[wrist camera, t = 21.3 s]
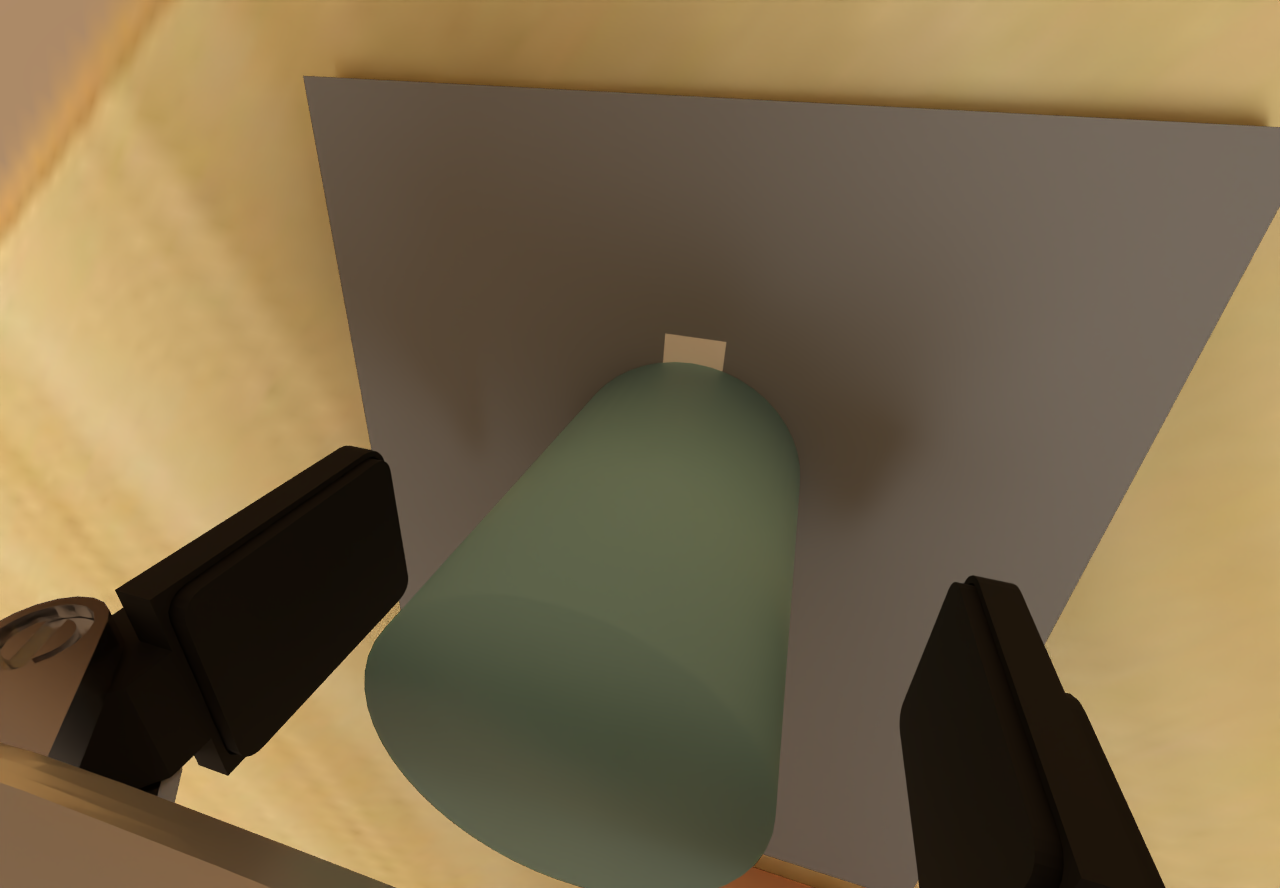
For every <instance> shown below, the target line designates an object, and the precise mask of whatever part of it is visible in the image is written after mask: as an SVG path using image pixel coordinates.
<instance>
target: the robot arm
mask: <svg viewBox="0 0 1280 888" xmlns="http://www.w3.org/2000/svg"><path fill="white" fill-rule="evenodd" d="M407 586H408V572H407V566H406V560H405V554H404V548H403V542H402V536H401V530H400V524H399V518H398V512H397V506H396V500H395V494H394V488H393V482H392V476H391V470H390V467H389V465H388V463H387V462H385V461H384V459H383V457H382V455H381V454H380V453H378V452H376V451H373V450H368V449H363V448H358V447H354V446H343V447H341V448H339V449H337V450H336V451H334V452H333V453H331V454H330V455H328V456H326V457H325V458H323V459H322V460H320V461H318V462H317V463H315V464H314V465H312V466H311V467H309V468H307V469H306V470H304V471H303V472H301V473H299V474H298V475H296V476H295V477H293V478H292V479H290V480H288V481H287V482H285V483H284V484H282V485H280V486H279V487H277V488H276V489H274V490H273V491H271V492H269V493H268V494H266V495H265V496H263V497H261V498H260V499H258V500H257V501H255V502H254V503H252V504H250V505H249V506H247V507H246V508H244V509H242V510H241V511H239V512H238V513H236V514H235V515H233V516H231V517H230V518H228V519H227V520H225V521H224V522H222V523H220V524H219V525H217V526H216V527H214V528H212V529H211V530H209V531H208V532H206V533H205V534H203V535H201V536H200V537H198V538H197V539H195V540H193V541H192V542H190V543H189V544H187V545H186V546H184V547H182V548H181V549H179V550H178V551H176V552H174V553H173V554H171V555H170V556H168V557H167V558H165V559H163V560H162V561H160V562H159V563H157V564H155V565H154V566H152V567H151V568H149V569H148V570H146V571H144V572H143V573H141V574H140V575H138V576H137V577H135V578H133V579H132V580H130V581H129V582H127V583H125V584H124V585H122V586H121V587H119V588H118V589H116V590H115V591H116V593H117V595H118V597H119V599H120V601H121V603H122V606H123V608H122V609H121V610H119V611H118V612H116V613H115V614H113V615H111V613H110V611H109V609H108V607H107V606H106V604H105V603H104V602H102V601H100V600H98V599H95V598H91V597H69V598H61V599H56V600H52V601H48V602H44V603H40V604H37V605H34V606H31V607H29V608H26V609H24V610H21V611H19V612H16V613H14V614H12V615H10V616H8V617H6V618H4V619H2V620H1V621H0V888H395V887H393V886H390V885H388V884H385V883H382V882H380V881H377V880H375V879H372V878H369V877H367V876H364V875H362V874H359V873H356V872H354V871H351V870H349V869H346V868H343V867H341V866H338V865H336V864H333V863H331V862H328V861H325V860H323V859H320V858H318V857H315V856H312V855H310V854H307V853H305V852H302V851H299V850H297V849H294V848H292V847H289V846H286V845H284V844H281V843H279V842H276V841H273V840H271V839H268V838H265V837H263V836H260V835H258V834H255V833H252V832H250V831H247V830H244V829H242V828H239V827H236V826H234V825H231V824H229V823H226V822H223V821H221V820H218V819H215V818H213V817H210V816H208V815H205V814H202V813H200V812H197V811H194V810H192V809H189V808H186V807H184V806H181V805H179V804H176V803H175V799H176V794H177V790H178V786H179V781H180V777H181V773H182V766H183V765H184V764H185V763H186V762H187V761H189V760H190V759H191V758H192V757H193V756H195V758H196V760H197V762H198V764H199V765H200V766H203V767H206V768H208V769H211V770H214V771H217V772H219V773H222V774H225V775H229V774H230V773H231V772H232V771H233V770H234V769H235V768H236V767H237V766H238V765H239V764H240V762H241V761H242V760H243V759H244V758H245V757H247V756H251V755H253V754H255V753H257V752H258V751H259V750H260V749H261V748H262V747H263V746H264V745H265V744H266V743H267V742H268V741H269V740H270V739H271V738H272V737H273V736H274V735H275V733H276V732H277V731H278V730H279V729H280V728H281V727H282V726H283V725H284V724H285V723H286V722H287V721H288V719H289V718H290V717H291V716H292V715H293V714H294V713H295V712H296V711H297V710H298V709H299V708H300V707H301V705H302V704H303V703H304V702H305V701H306V700H307V699H308V698H309V697H310V696H311V695H312V694H313V693H314V691H315V690H316V689H317V688H318V687H319V686H320V685H321V684H322V683H323V682H324V681H325V680H326V679H327V677H328V676H329V675H330V674H331V673H332V672H333V671H334V670H335V669H336V668H337V667H338V666H339V665H340V663H341V662H342V661H343V660H344V659H345V658H346V657H347V656H348V655H349V654H350V653H351V652H352V651H353V649H354V648H355V647H356V646H357V645H358V644H359V643H360V642H361V641H362V640H363V639H364V638H365V636H366V635H367V634H368V633H369V632H370V631H371V630H372V629H373V628H374V627H375V626H376V625H377V624H378V622H379V621H380V620H381V619H382V618H383V617H384V616H385V615H386V614H387V613H388V612H389V611H390V610H391V608H392V607H393V606H394V605H395V604H396V603H397V602H398V601H399V600H400V599H401V597H402V596H403V595H404V593H405V591H406V589H407ZM899 728H900V738H901V745H902V753H903V761H904V769H905V777H906V785H907V793H908V801H909V809H910V817H911V825H912V833H913V841H914V849H915V856H916V864H917V872H918V880H919V888H1165V886H1164V883H1163V881H1162V879H1161V877H1160V875H1159V872H1158V870H1157V868H1156V866H1155V864H1154V862H1153V859H1152V857H1151V855H1150V853H1149V851H1148V848H1147V846H1146V844H1145V842H1144V840H1143V837H1142V835H1141V833H1140V831H1139V829H1138V826H1137V824H1136V822H1135V820H1134V818H1133V815H1132V813H1131V811H1130V809H1129V807H1128V804H1127V802H1126V800H1125V798H1124V796H1123V793H1122V791H1121V789H1120V787H1119V785H1118V782H1117V780H1116V778H1115V776H1114V774H1113V772H1112V769H1111V767H1110V765H1109V763H1108V761H1107V758H1106V756H1105V754H1104V752H1103V750H1102V747H1101V745H1100V743H1099V741H1098V739H1097V736H1096V734H1095V732H1094V730H1093V728H1092V725H1091V723H1090V721H1089V719H1088V717H1087V714H1086V712H1085V710H1084V709H1083V707H1082V706H1081V704H1080V702H1079V701H1078V700H1077V699H1076V698H1075V697H1074V696H1072V695H1071V694H1068V693H1065V692H1064V689H1063V687H1062V685H1061V683H1060V680H1059V678H1058V676H1057V673H1056V671H1055V669H1054V666H1053V664H1052V662H1051V660H1050V657H1049V655H1048V653H1047V650H1046V648H1045V646H1044V643H1043V641H1042V639H1041V637H1040V634H1039V632H1038V630H1037V627H1036V625H1035V623H1034V620H1033V618H1032V616H1031V614H1030V611H1029V609H1028V607H1027V604H1026V602H1025V600H1024V597H1023V595H1022V593H1021V591H1020V589H1019V587H1018V586H1017V585H1015V584H1013V583H1008V582H1003V581H998V580H994V579H989V578H984V577H979V576H974V575H972V576H969V577H968V578H967V579H966V580H965V582H964V584H963V583H959V582H953V583H952V584H951V586H950V587H949V589H948V592H947V594H946V597H945V599H944V602H943V604H942V607H941V609H940V612H939V614H938V617H937V619H936V622H935V624H934V627H933V629H932V632H931V634H930V637H929V639H928V642H927V644H926V647H925V649H924V652H923V654H922V657H921V659H920V662H919V664H918V667H917V669H916V672H915V674H914V676H913V679H912V681H911V684H910V686H909V689H908V691H907V694H906V696H905V699H904V701H903V704H902V707H901V712H900V721H899Z"/></svg>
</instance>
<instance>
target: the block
mask: <svg viewBox="0 0 1280 888" xmlns="http://www.w3.org/2000/svg"><path fill="white" fill-rule="evenodd" d="M719 888H814V887H811V886H808V885H805V884H802V883H799V882H796V881H793V880H790V879H787V878H784V877H781V876H778V875H775V874H772V873H769V872H766V871H763V870H760V869H757V868H754V867H752V868H750V869H749V870H748V871H747V872H746V873H745V874H744V875H742V876H741V877H739V878H737V879H736V880H734V881H732V882H730V883H729V884H727V885H724V886H722V887H719Z"/></svg>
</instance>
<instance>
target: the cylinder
mask: <svg viewBox="0 0 1280 888" xmlns="http://www.w3.org/2000/svg"><path fill="white" fill-rule="evenodd" d="M799 489H800V465H799V459H798V453H797V450H796V447H795V444H794V441H793V438H792V436H791V434H790V432H789V430H788V428H787V426H786V424H785V423H784V421H783V420H782V418H781V417H780V415H779V414H778V412H777V411H776V410H775V409H774V408H773V407H772V406H771V405H770V403H769V402H768V401H767V400H766V399H765V398H764V397H762V396H761V395H760V394H759V393H758V392H757V391H755V390H754V389H753V388H751V387H750V386H748V385H747V384H745V383H744V382H742V381H741V380H739V379H737V378H735V377H733V376H731V375H729V374H727V373H725V372H722V371H719V370H716V369H714V368H711V367H707V366H703V365H698V364H693V363H683V362H664V363H655V364H650V365H645V366H641V367H638V368H635V369H632V370H630V371H628V372H625V373H623V374H621V375H619V376H617V377H616V378H614V379H613V380H612V381H610V382H609V383H607V384H606V385H605V386H604V387H603V388H601V389H600V390H599V391H598V392H597V393H596V394H595V395H594V396H593V397H592V399H591V400H590V401H589V402H588V403H587V404H586V405H585V406H584V407H583V409H582V410H581V411H580V412H579V413H578V414H577V415H576V416H575V417H574V419H573V420H572V421H571V422H570V423H569V424H568V425H567V426H566V427H565V429H564V430H563V431H562V432H561V433H560V434H559V435H558V436H557V437H556V439H555V440H554V441H553V442H552V443H551V444H550V445H549V446H548V447H547V449H546V450H545V451H544V452H543V453H542V454H541V455H540V456H539V457H538V459H537V460H536V461H535V462H534V463H533V464H532V465H531V466H530V467H529V469H528V470H527V471H526V472H525V473H524V474H523V475H522V476H521V477H520V479H519V480H518V481H517V482H516V483H515V484H514V485H513V486H512V487H511V489H510V490H509V491H508V492H507V493H506V494H505V495H504V496H503V497H502V499H501V500H500V501H499V502H498V503H497V504H496V505H495V506H494V507H493V508H492V510H491V511H490V512H489V513H488V514H487V515H486V516H485V517H484V518H483V520H482V521H481V522H480V523H479V524H478V525H477V526H476V527H475V528H474V530H473V531H472V532H471V533H470V534H469V535H468V536H467V537H466V538H465V540H464V541H463V542H462V543H461V544H460V545H459V546H458V547H457V548H456V550H455V551H454V552H453V553H452V554H451V555H450V556H449V557H448V558H447V560H446V561H445V562H444V563H443V564H442V565H441V566H440V567H439V568H438V570H437V571H436V572H435V573H434V574H433V575H432V576H431V577H430V578H429V580H428V581H427V582H426V583H425V584H424V585H423V586H422V587H421V588H420V590H419V591H418V592H417V593H416V594H415V595H414V596H413V597H412V598H411V600H410V601H409V602H408V603H407V604H406V605H405V606H404V607H403V608H402V610H401V611H400V612H399V613H398V614H397V615H396V616H395V617H394V618H393V620H392V621H391V622H390V623H389V624H388V625H387V626H386V627H385V629H384V630H383V631H382V633H381V634H380V635H379V636H378V638H377V639H376V640H375V642H374V644H373V647H372V649H371V651H370V653H369V655H368V659H367V664H366V669H365V695H366V701H367V707H368V710H369V713H370V716H371V719H372V722H373V725H374V727H375V729H376V731H377V734H378V736H379V738H380V740H381V742H382V744H383V745H384V747H385V749H386V750H387V752H388V753H389V755H390V757H391V758H392V760H393V761H394V763H395V764H396V765H397V767H398V768H399V769H400V771H401V772H402V773H403V775H404V776H405V777H406V778H407V779H408V780H409V782H410V783H411V784H412V785H413V786H414V787H415V788H416V789H417V791H418V792H419V793H420V794H421V795H422V796H423V797H425V798H426V799H427V800H428V801H429V802H430V803H431V804H432V805H433V806H434V807H435V808H436V809H437V810H438V811H440V812H441V813H442V814H443V815H444V816H446V817H447V818H448V819H449V820H450V821H452V822H453V823H454V824H456V825H457V826H458V827H460V828H461V829H462V830H464V831H465V832H467V833H468V834H469V835H471V836H472V837H474V838H475V839H477V840H478V841H480V842H482V843H483V844H485V845H486V846H488V847H490V848H491V849H493V850H495V851H497V852H498V853H500V854H502V855H504V856H506V857H507V858H509V859H511V860H513V861H515V862H517V863H519V864H521V865H524V866H526V867H528V868H530V869H532V870H534V871H537V872H539V873H542V874H544V875H547V876H549V877H552V878H555V879H557V880H560V881H563V882H566V883H570V884H573V885H576V886H579V887H583V888H719V887H722V886H724V885H727V884H729V883H730V882H732V881H734V880H736V879H737V878H739V877H741V876H742V875H744V874H745V873H746V872H747V871H748V870H749V869H750V868H752V867H753V866H754V865H755V864H756V863H757V861H758V860H759V859H760V857H761V856H762V855H763V853H764V852H765V851H766V849H767V846H768V844H769V841H770V839H771V837H772V834H773V829H774V823H775V817H776V805H777V792H778V778H779V764H780V750H781V737H782V723H783V709H784V695H785V682H786V668H787V654H788V640H789V627H790V613H791V599H792V585H793V572H794V558H795V544H796V530H797V517H798V503H799Z"/></svg>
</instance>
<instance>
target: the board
mask: <svg viewBox="0 0 1280 888" xmlns="http://www.w3.org/2000/svg"><path fill="white" fill-rule="evenodd" d="M303 78H304V83H305V89H306V94H307V100H308V105H309V111H310V116H311V122H312V127H313V132H314V138H315V143H316V149H317V154H318V160H319V165H320V171H321V176H322V182H323V187H324V193H325V198H326V204H327V209H328V215H329V220H330V225H331V231H332V236H333V242H334V247H335V253H336V258H337V264H338V269H339V275H340V280H341V286H342V291H343V297H344V302H345V308H346V313H347V319H348V324H349V329H350V335H351V340H352V346H353V351H354V357H355V362H356V368H357V373H358V379H359V384H360V390H361V395H362V401H363V406H364V412H365V417H366V422H367V428H368V433H369V439H370V444H371V450H373V451H376V452H378V453H380V454H381V455H382V457H383V459H384V461H385V462H387V463H388V465H389V467H390V470H391V476H392V482H393V488H394V494H395V500H396V506H397V512H398V518H399V524H400V530H401V536H402V542H403V548H404V554H405V560H406V566H407V572H408V586H407V589H406V591H405V593H404V595H403V596H402V597H401V599H400V600H399V603H400V608H401V610H402V608H403V607H404V606H405V605H406V604H407V603H408V602H409V601H410V600H411V598H412V597H413V596H414V595H415V594H416V593H417V592H418V591H419V590H420V588H421V587H422V586H423V585H424V584H425V583H426V582H427V581H428V580H429V578H430V577H431V576H432V575H433V574H434V573H435V572H436V571H437V570H438V568H439V567H440V566H441V565H442V564H443V563H444V562H445V561H446V560H447V558H448V557H449V556H450V555H451V554H452V553H453V552H454V551H455V550H456V548H457V547H458V546H459V545H460V544H461V543H462V542H463V541H464V540H465V538H466V537H467V536H468V535H469V534H470V533H471V532H472V531H473V530H474V528H475V527H476V526H477V525H478V524H479V523H480V522H481V521H482V520H483V518H484V517H485V516H486V515H487V514H488V513H489V512H490V511H491V510H492V508H493V507H494V506H495V505H496V504H497V503H498V502H499V501H500V500H501V499H502V497H503V496H504V495H505V494H506V493H507V492H508V491H509V490H510V489H511V487H512V486H513V485H514V484H515V483H516V482H517V481H518V480H519V479H520V477H521V476H522V475H523V474H524V473H525V472H526V471H527V470H528V469H529V467H530V466H531V465H532V464H533V463H534V462H535V461H536V460H537V459H538V457H539V456H540V455H541V454H542V453H543V452H544V451H545V450H546V449H547V447H548V446H549V445H550V444H551V443H552V442H553V441H554V440H555V439H556V437H557V436H558V435H559V434H560V433H561V432H562V431H563V430H564V429H565V427H566V426H567V425H568V424H569V423H570V422H571V421H572V420H573V419H574V417H575V416H576V415H577V414H578V413H579V412H580V411H581V410H582V409H583V407H584V406H585V405H586V404H587V403H588V402H589V401H590V400H591V399H592V397H593V396H594V395H595V394H596V393H597V392H598V391H599V390H600V389H601V388H603V387H604V386H605V385H606V384H607V383H609V382H610V381H612V380H613V379H614V378H616V377H617V376H619V375H621V374H623V373H625V372H628V371H630V370H632V369H635V368H638V367H641V366H645V365H650V364H655V363H664V362H683V363H693V364H698V365H703V366H707V367H711V368H714V369H716V370H719V371H722V372H725V373H727V374H729V375H731V376H733V377H735V378H737V379H739V380H741V381H742V382H744V383H745V384H747V385H748V386H750V387H751V388H753V389H754V390H755V391H757V392H758V393H759V394H760V395H761V396H762V397H764V398H765V399H766V400H767V401H768V402H769V403H770V405H771V406H772V407H773V408H774V409H775V410H776V411H777V412H778V414H779V415H780V417H781V418H782V420H783V421H784V423H785V424H786V426H787V428H788V430H789V432H790V434H791V436H792V438H793V441H794V444H795V447H796V450H797V453H798V459H799V465H800V489H799V503H798V517H797V530H796V544H795V558H794V572H793V585H792V599H791V613H790V627H789V640H788V654H787V668H786V682H785V695H784V709H783V723H782V737H781V750H780V764H779V778H778V792H777V805H776V817H775V823H774V829H773V834H772V837H771V839H770V841H769V844H768V846H767V849H766V851H765V852H764V853H763V854H764V855H767V856H770V857H773V858H776V859H779V860H782V861H786V862H789V863H792V864H795V865H798V866H801V867H804V868H807V869H810V870H813V871H817V872H820V873H823V874H826V875H829V876H832V877H835V878H838V879H841V880H844V881H848V882H851V883H854V884H857V885H860V886H863V887H866V888H914V887H915V885H916V883H917V881H918V872H917V864H916V856H915V849H914V841H913V833H912V825H911V817H910V809H909V801H908V793H907V785H906V777H905V769H904V761H903V753H902V745H901V738H900V728H899V721H900V712H901V707H902V704H903V701H904V699H905V696H906V694H907V691H908V689H909V686H910V684H911V681H912V679H913V676H914V674H915V672H916V669H917V667H918V664H919V662H920V659H921V657H922V654H923V652H924V649H925V647H926V644H927V642H928V639H929V637H930V634H931V632H932V629H933V627H934V624H935V622H936V619H937V617H938V614H939V612H940V609H941V607H942V604H943V602H944V599H945V597H946V594H947V592H948V589H949V587H950V586H951V584H952V583H953V582H959V583H963V584H964V582H965V580H966V579H967V578H968V577H969V576H972V575H974V576H979V577H984V578H989V579H994V580H998V581H1003V582H1008V583H1013V584H1015V585H1017V586H1018V587H1019V589H1020V591H1021V593H1022V595H1023V597H1024V600H1025V602H1026V604H1027V607H1028V609H1029V611H1030V614H1031V616H1032V618H1033V620H1034V623H1035V625H1036V627H1037V630H1038V632H1039V634H1040V637H1041V639H1042V641H1043V643H1044V645H1045V643H1046V641H1047V639H1048V637H1049V635H1050V633H1051V632H1052V630H1053V628H1054V626H1055V624H1056V622H1057V620H1058V618H1059V617H1060V615H1061V613H1062V611H1063V609H1064V607H1065V605H1066V604H1067V602H1068V600H1069V598H1070V596H1071V594H1072V592H1073V591H1074V589H1075V587H1076V585H1077V583H1078V581H1079V579H1080V577H1081V576H1082V574H1083V572H1084V570H1085V568H1086V566H1087V564H1088V563H1089V561H1090V559H1091V557H1092V555H1093V553H1094V551H1095V550H1096V548H1097V546H1098V544H1099V542H1100V540H1101V538H1102V536H1103V535H1104V533H1105V531H1106V529H1107V527H1108V525H1109V523H1110V522H1111V520H1112V518H1113V516H1114V514H1115V512H1116V510H1117V509H1118V507H1119V505H1120V503H1121V501H1122V499H1123V497H1124V495H1125V494H1126V492H1127V490H1128V488H1129V486H1130V484H1131V482H1132V481H1133V479H1134V477H1135V475H1136V473H1137V471H1138V469H1139V468H1140V466H1141V464H1142V462H1143V460H1144V458H1145V456H1146V454H1147V453H1148V451H1149V449H1150V447H1151V445H1152V443H1153V441H1154V440H1155V438H1156V436H1157V434H1158V432H1159V430H1160V428H1161V427H1162V425H1163V423H1164V421H1165V419H1166V417H1167V415H1168V413H1169V412H1170V410H1171V408H1172V406H1173V404H1174V402H1175V400H1176V399H1177V397H1178V395H1179V393H1180V391H1181V389H1182V387H1183V386H1184V384H1185V382H1186V380H1187V378H1188V376H1189V374H1190V372H1191V371H1192V369H1193V367H1194V365H1195V363H1196V361H1197V359H1198V358H1199V356H1200V354H1201V352H1202V350H1203V348H1204V346H1205V345H1206V343H1207V341H1208V339H1209V337H1210V335H1211V333H1212V331H1213V330H1214V328H1215V326H1216V324H1217V322H1218V320H1219V318H1220V317H1221V315H1222V313H1223V311H1224V309H1225V307H1226V305H1227V304H1228V302H1229V300H1230V298H1231V296H1232V294H1233V292H1234V290H1235V289H1236V287H1237V285H1238V283H1239V281H1240V279H1241V277H1242V276H1243V274H1244V272H1245V270H1246V268H1247V266H1248V264H1249V263H1250V261H1251V259H1252V257H1253V255H1254V253H1255V251H1256V249H1257V248H1258V246H1259V244H1260V242H1261V240H1262V238H1263V236H1264V235H1265V233H1266V231H1267V229H1268V227H1269V225H1270V223H1271V222H1272V220H1273V218H1274V216H1275V214H1276V212H1277V210H1278V209H1279V207H1280V127H1264V126H1245V125H1226V124H1207V123H1188V122H1169V121H1150V120H1131V119H1112V118H1093V117H1074V116H1055V115H1036V114H1017V113H998V112H979V111H960V110H941V109H922V108H903V107H884V106H865V105H846V104H827V103H809V102H790V101H771V100H752V99H733V98H714V97H695V96H676V95H657V94H638V93H619V92H600V91H581V90H562V89H543V88H524V87H505V86H486V85H467V84H448V83H429V82H410V81H391V80H372V79H353V78H334V77H315V76H303Z"/></svg>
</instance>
